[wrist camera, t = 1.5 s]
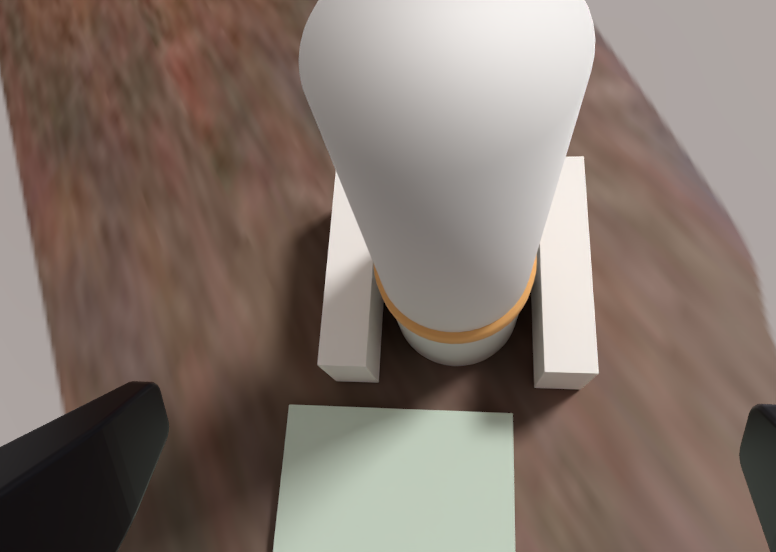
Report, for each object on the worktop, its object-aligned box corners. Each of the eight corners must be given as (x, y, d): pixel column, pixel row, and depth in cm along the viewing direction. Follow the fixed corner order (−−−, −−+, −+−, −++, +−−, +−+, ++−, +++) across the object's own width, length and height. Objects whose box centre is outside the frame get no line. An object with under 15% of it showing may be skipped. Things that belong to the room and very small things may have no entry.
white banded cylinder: (546, 334, 21) (672, 88, 8) (426, 393, 21) (363, 235, 8) (482, 226, 23) (505, -114, 10) (372, 280, 23) (248, 3, 10)
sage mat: (516, 681, 18) (517, 685, 17) (265, 656, 19) (260, 659, 18) (511, 414, 20) (512, 413, 20) (292, 406, 22) (289, 404, 21)
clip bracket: (580, 389, 20) (598, 373, 18) (336, 381, 22) (317, 365, 19) (569, 196, 23) (583, 156, 20) (351, 199, 24) (336, 161, 21)
